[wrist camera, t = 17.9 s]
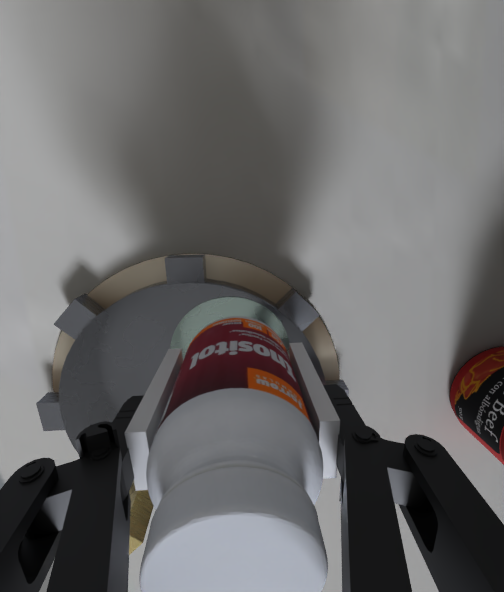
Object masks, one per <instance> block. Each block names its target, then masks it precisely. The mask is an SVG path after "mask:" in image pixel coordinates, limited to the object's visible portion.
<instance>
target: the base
mask: <svg viewBox="0 0 504 592" xmlns="http://www.w3.org/2000/svg"><path fill="white" fill-rule="evenodd" d="M179 255H205V262H206V277H207V279H213V280H220V281H226V282H229V283H233V284H236V285H239V286H243V287H245V288H247V289H250V290H252V291H254V292H257V293H259V294H261V295H262V296H264V297H266V298H267V299H269V300H270V301H272V302H274V303H275V304H276V303H277V302H278V301H279V300H280V299H281V298H282V297H283V296H284V295H285V294H286V293H287V292H288V291H289V290H290V289H291V288H292V287H290V286H289V285H288V284H287V283H286V282H284V281H282V280H281V279H279V278H278V277H276V276H274V275H273V274H271V273H269V272H268V271H265V270H263V269H261V268H259V267H256V266H254V265H252V264H249V263H246V262H243V261H239V260H236V259H233V258H229V257H223V256H216V255H210V254H179ZM166 257H168V256H163V257H159V258H155V259H151V260H147V261H143V262H141V263H138V264H136V265H133V266H131V267H128V268H126V269H124V270H122V271H120V272H118V273H117V274H115V275H113V276H111V277H109V278H108V279H106V280H105V281H104V282H102V283H101V284H100V285H98V286H97V287H96V288H94V289H93V290H92V291H91V292H90V293H89V294H88V296H89V297H90V298H92V299H93V300H94V301H95V302H97V303H98V304H99V305H101V306H102V307H103V308H104V309H107V308H108V307H110V306H111V305H112V304H114V303H115V302H117V301H118V300H119V299H121V298H123V297H124V296H126V295H128V294H130V293H132V292H134V291H136V290H138V289H141V288H143V287H146V286H149V285H151V284H154V283H159V282H163V281H167V277H166V267H165V258H166ZM296 292H297V291H296ZM303 333H304V334H305V335H306V337H307V338H308V340H309V342H310V344H311V346H312V347H313V349H314V351H315V353H316V355H317V357H318V359H319V361H320V364H321V367H322V370H323V373H324V377H325V381H327V380H339V367H338V360H337V355H336V352H335V349H334V346H333V342H332V339H331V337H330V335H329V333H328V331H327V329H326V327H325V325H324V323H323V322H322V320H321V319H320V318H319V316H318V317H317V318H316V319H315V320H314V321H313V322H312V323H311V324H310V325H309V326H308V327H307V328H306V329H305V330H303ZM74 341H75V339H73V338H72V337H71V336H69V335H68V334H66V333H65V332H64V331H62V332H61V334H60V336H59V340H58V343H57V346H56V350H55V353H54V361H53V369H52V375H53V390H54V392H59V384H60V377H61V371H62V368H63V365H64V362H65V359H66V356H67V354H68V353H69V351H70V349H71V347H72V345H73V343H74Z"/></svg>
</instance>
